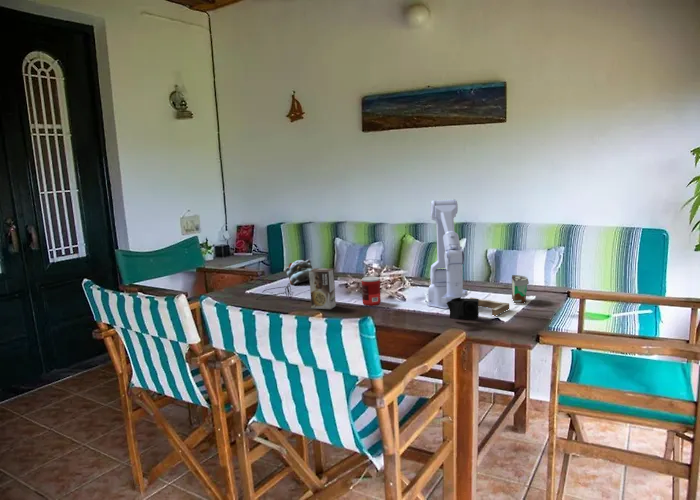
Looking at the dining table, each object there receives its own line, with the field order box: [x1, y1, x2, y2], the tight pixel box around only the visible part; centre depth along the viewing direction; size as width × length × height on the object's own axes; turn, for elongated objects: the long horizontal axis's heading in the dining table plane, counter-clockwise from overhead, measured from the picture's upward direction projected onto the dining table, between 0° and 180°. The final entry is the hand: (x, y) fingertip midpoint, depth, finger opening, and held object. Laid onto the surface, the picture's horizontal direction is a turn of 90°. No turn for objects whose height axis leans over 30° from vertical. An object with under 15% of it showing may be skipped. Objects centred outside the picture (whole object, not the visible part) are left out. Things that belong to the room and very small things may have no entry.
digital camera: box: [449, 297, 480, 320], centre depth 199 cm, size 10×5×7 cm, turn 72°
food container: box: [511, 274, 530, 304], centre depth 218 cm, size 12×6×10 cm, turn 168°
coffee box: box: [309, 267, 337, 310], centre depth 222 cm, size 9×6×16 cm
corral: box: [468, 297, 510, 317], centre depth 208 cm, size 17×11×3 cm, turn 46°
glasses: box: [256, 282, 292, 300], centre depth 248 cm, size 14×15×5 cm
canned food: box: [361, 276, 382, 307], centre depth 225 cm, size 8×8×11 cm
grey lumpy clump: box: [284, 258, 314, 286], centre depth 273 cm, size 15×12×14 cm
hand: (455, 318), depth 194 cm, fingers closed
